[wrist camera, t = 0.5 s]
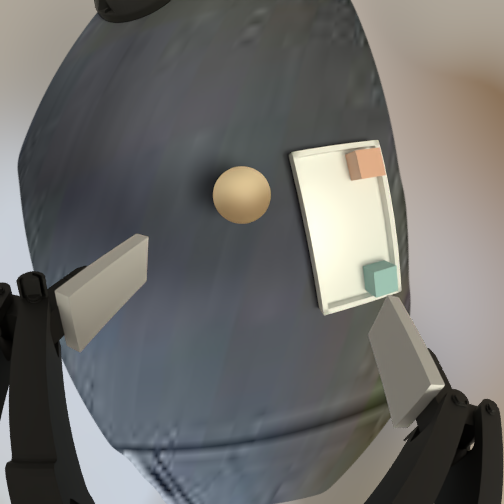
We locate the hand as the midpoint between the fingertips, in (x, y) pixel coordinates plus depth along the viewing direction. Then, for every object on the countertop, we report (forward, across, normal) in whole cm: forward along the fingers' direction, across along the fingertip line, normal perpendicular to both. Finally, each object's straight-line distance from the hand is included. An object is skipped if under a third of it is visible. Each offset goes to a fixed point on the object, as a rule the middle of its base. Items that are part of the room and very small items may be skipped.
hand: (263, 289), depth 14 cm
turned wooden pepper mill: (+22, -5, 0) cm, 22 cm away
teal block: (+22, +15, -6) cm, 27 cm away
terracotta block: (+24, +9, +7) cm, 27 cm away
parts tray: (+24, +10, -1) cm, 25 cm away
